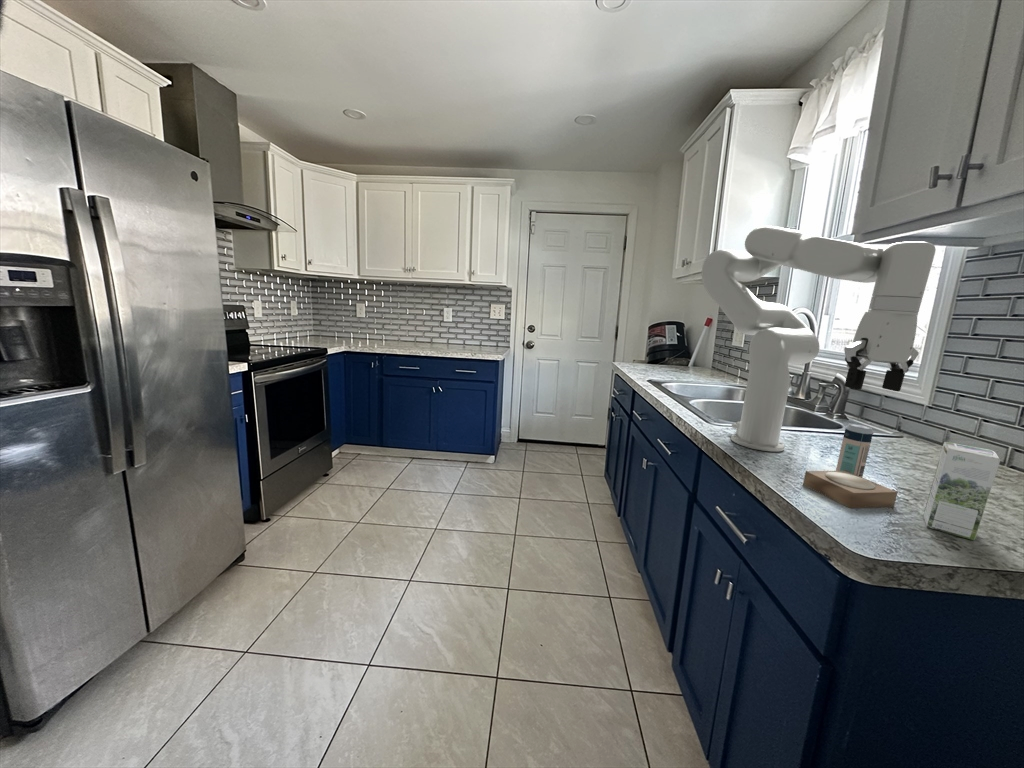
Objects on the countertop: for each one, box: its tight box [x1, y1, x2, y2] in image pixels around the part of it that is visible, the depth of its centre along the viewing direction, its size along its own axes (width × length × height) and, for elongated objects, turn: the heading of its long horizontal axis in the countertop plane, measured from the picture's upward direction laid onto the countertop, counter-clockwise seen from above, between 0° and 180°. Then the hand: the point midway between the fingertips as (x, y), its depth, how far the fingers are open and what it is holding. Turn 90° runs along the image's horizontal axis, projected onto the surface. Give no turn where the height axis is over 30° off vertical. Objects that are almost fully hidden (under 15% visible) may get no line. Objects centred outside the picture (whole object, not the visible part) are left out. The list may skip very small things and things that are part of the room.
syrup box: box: [923, 441, 1001, 541], centre depth 68 cm, size 6×6×14 cm
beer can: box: [835, 423, 874, 478], centre depth 88 cm, size 5×5×12 cm
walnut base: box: [802, 470, 898, 509], centre depth 80 cm, size 10×10×3 cm
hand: (871, 389), depth 85 cm, fingers open, 9 cm apart
